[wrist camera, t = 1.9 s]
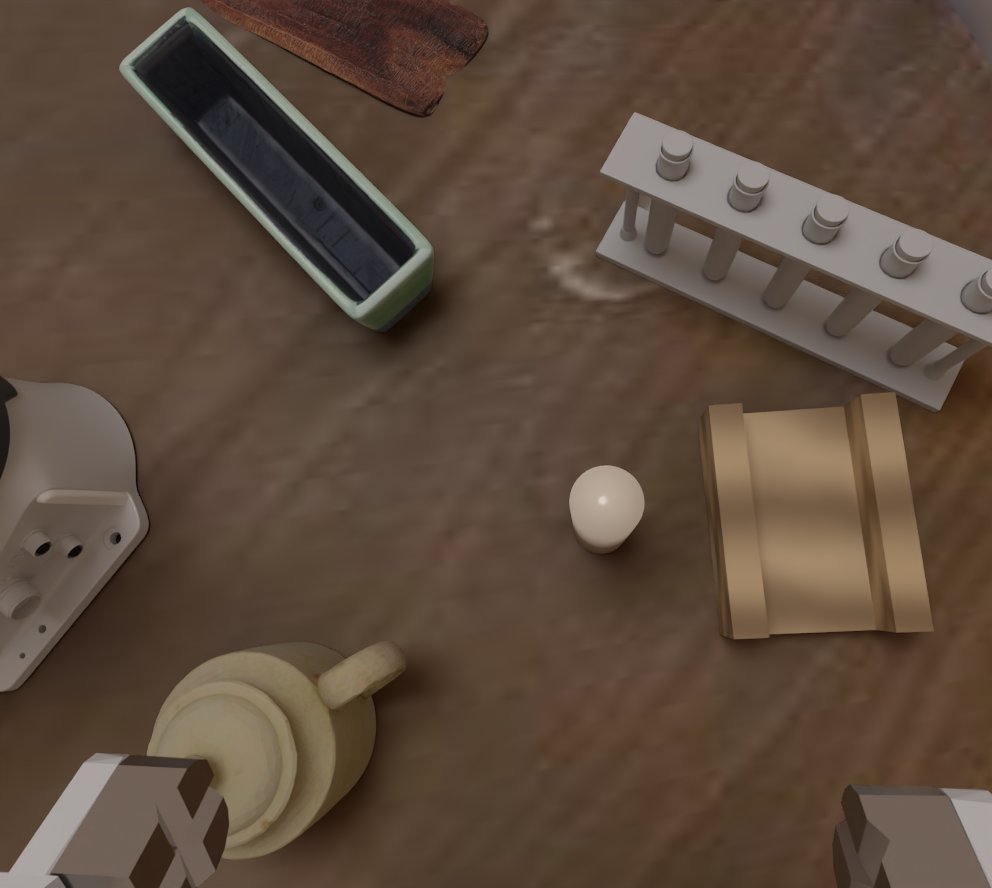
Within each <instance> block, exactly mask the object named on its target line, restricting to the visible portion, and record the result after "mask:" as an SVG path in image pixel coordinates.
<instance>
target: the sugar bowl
mask: <svg viewBox="0 0 992 888" xmlns="http://www.w3.org/2000/svg"><path fill="white" fill-rule="evenodd" d="M405 668H406V660H405V656H404V653H403V651H402V650H401V648H400V647H399V646H398V645H397V644H396V643H395V642H393V641H390V640H384V641H381V642H378V643H375V644H373V645H371V646H369V647H367V648H365V649H363V650H361V651H359V652H357V653H356V654H354V655H352V656H350V657H348V658H347V659H346V658H345V657H343V656H342V655H341V654H339V653H338V652H336V651H334V650H332V649H330V648H327V647H325V646H322V645H319V644H314V643H309V642H291V643H282V644H274V645H267V646H260V647H255V648H249V649H245V650H241V651H236V652H232V653H228V654H224V655H221V656H218V657H215V658H213V659H210V660H208V661H207V662H205V663H203V664H201V665H200V666H198V667H197V668H195V669H194V670H192V671H191V672H190V673H189V674H188V675H187V676H186V677H185V678H184V679H183V680H182V681H181V682H179V683H178V684H177V685H176V687H175V688H174V689H173V691H172V692H171V693H170V695H169V696H168V697H167V699H166V701H165V702H164V704H163V706H162V708H161V710H160V713H159V715H158V717H157V720H156V722H155V725H154V729H153V734H152V738H151V741H150V743H149V746H148V751H147V756H159V757H177V758H194V759H207V761H208V763H209V765H210V767H211V769H212V771H213V773H214V777H213V779H212V781H211V783H210V785H209V786H210V787H211V788H213V789H214V790H215V791H217V792H218V793H219V794H221V795H222V796H223V797H224V799H225V802H226V805H227V807H228V814H229V829H228V834H227V840H226V845H225V849H224V852H223V854H222V857H221V858H227V859H250V858H256V857H260V856H264V855H267V854H269V853H272V852H274V851H277V850H278V849H280V848H282V847H284V846H286V845H287V844H289V843H290V842H292V841H293V840H294V839H296V838H297V837H299V836H300V835H301V834H302V833H303V832H305V831H306V830H307V829H308V828H310V827H311V826H312V825H313V824H315V823H316V822H317V821H318V820H319V819H320V818H321V817H323V816H324V815H325V814H326V813H327V812H328V811H329V810H330V809H331V808H332V807H333V806H334V805H335V804H336V803H337V802H339V801H340V800H341V799H342V798H343V797H344V796H345V795H346V794H347V793H348V792H349V791H350V790H351V789H352V788H353V786H354V785H355V784H356V783H357V781H358V780H359V779H360V777H361V776H362V774H363V772H364V771H365V769H366V767H367V765H368V763H369V760H370V757H371V755H372V752H373V748H374V742H375V735H376V714H375V707H374V703H373V699H372V696H371V695H372V694H373V693H375V692H376V691H378V690H379V689H381V688H382V687H384V686H385V685H386V684H388V683H389V682H391V681H392V680H394V679H395V678H396V677H397V676H399V675H400V674H401V673H402V672H403V671H404V670H405Z"/></svg>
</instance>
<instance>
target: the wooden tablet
mask: <svg viewBox="0 0 992 888" xmlns="http://www.w3.org/2000/svg"><path fill="white" fill-rule="evenodd" d="M201 1H202V2H203V3H204V4H206V5H207V6H208V7H209V8H210V9H211V10H213V11H214V12H216V13H217V14H218V15H220V16H222V17H223V18H225V19H227V20H229V21H230V22H232V23H234V24H236V25H238V26H240V27H242V28H244V29H246V30H248V31H249V32H252V33H254V34H256V35H258V36H260V37H262V38H264V39H267V40H268V41H270V42H272V43H274V44H276V45H278V46H280V47H282V48H284V49H286V50H288V51H290V52H292V53H294V54H296V55H297V56H299V57H301V58H303V59H305V60H307V61H309V62H311V63H312V64H314V65H316V66H318V67H320V68H321V69H323V70H325V71H327V72H328V73H331V74H333V75H335V76H337V77H339V78H341V79H343V80H344V81H346V82H348V83H350V84H352V85H354V86H356V87H358V88H360V89H362V90H363V91H365V92H367V93H369V94H370V95H372V96H373V97H375V98H378V99H380V100H382V101H383V102H385V103H387V104H389V105H391V106H393V107H395V108H398V109H400V110H402V111H405V112H408V113H411V114H413V115H417V116H421V117H425V116H429V115H431V114H432V112H433V111H434V110H435V108H436V107H437V105H438V103H439V101H440V99H441V97H442V95H443V93H444V91H445V84H444V78H445V77H446V76H447V75H451V74H453V73H456V72H458V71H459V70H461V69H462V68H464V67H465V66H466V65H467V64H468V63H469V62H470V61H471V60H472V58H473V57H474V56H475V55H476V54H477V52H478V51H479V49H480V48H481V47H482V45H483V43H484V41H485V40H486V38H487V35H488V34H487V33H488V30H487V25H486V23H485V22H484V21H483V20H482V19H481V18H479V17H478V16H476V15H474V14H473V13H471V12H469V11H467V10H466V9H464V8H462V7H461V6H459V5H457V4H455V3H453V2H451V1H450V0H201Z"/></svg>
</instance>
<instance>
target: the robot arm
mask: <svg viewBox="0 0 992 888" xmlns="http://www.w3.org/2000/svg"><path fill="white" fill-rule="evenodd" d="M148 526H149V522H148V517H147V513H146V511H145V508H144V506H143V503H142V501H141V499H140V497H139V495H138V492H137V488H136V466H135V453H134V447H133V443H132V439H131V436H130V433H129V431H128V428H127V426H126V424H125V422H124V421H123V419H122V417H121V416H120V414H119V413H118V412H117V410H116V409H115V408H114V407H113V406H112V405H111V404H110V403H109V402H108V401H107V400H106V399H104V398H103V397H102V396H100V395H99V394H97V393H95V392H93V391H91V390H89V389H87V388H84V387H81V386H78V385H74V384H68V383H36V382H28V381H21V380H16V379H11V378H6V377H2V376H0V692H6V691H13V690H16V689H17V688H19V687H20V686H21V685H22V684H23V683H24V682H25V681H26V680H27V678H28V677H29V676H30V675H31V674H32V672H33V671H34V670H35V669H36V668H37V666H38V665H39V664H40V663H41V662H42V660H43V659H44V658H45V657H46V655H47V654H48V653H49V652H50V651H51V649H52V648H53V647H54V646H55V645H56V643H57V642H58V641H59V640H60V639H61V637H62V636H63V635H64V634H65V633H66V631H67V630H68V629H69V628H70V626H71V625H72V624H73V623H74V622H75V620H76V619H77V618H78V617H79V616H80V614H81V613H82V612H83V611H84V610H85V608H86V607H87V606H88V605H89V603H90V602H91V601H92V600H93V599H94V597H95V596H96V595H97V594H98V593H99V591H100V590H101V589H102V588H103V587H104V585H105V584H106V583H107V582H108V580H109V579H110V578H111V577H112V576H113V574H114V573H115V572H116V571H117V570H118V568H119V567H120V566H121V565H122V564H123V562H124V561H125V560H126V559H127V557H128V556H129V555H130V554H131V553H132V551H133V550H134V549H135V548H136V547H137V545H138V544H139V543H140V542H141V541H142V539H143V538H144V537H145V535H146V533H147V531H148ZM118 534H120V535H121V541H120V542H119V543H118V544H117V542H116V537H117V536H118ZM213 777H214V773H213V771H212V769H211V767H210V765H209V763H208V761H207V759H194V758H177V757H159V756H142V755H131V754H107V753H96V754H95V755H93V756H92V757H91V758H89V759H88V760H87V761H85V762H84V763H83V764H82V766H81V767H80V768H79V770H78V771H77V773H76V774H75V776H74V777H73V779H72V780H71V782H70V783H69V785H68V786H67V788H66V789H65V790H64V792H63V793H62V795H61V796H60V798H59V799H58V801H57V802H56V804H55V805H54V807H53V808H52V810H51V811H50V812H49V814H48V815H47V817H46V818H45V820H44V821H43V823H42V824H41V826H40V827H39V829H38V830H37V832H36V833H35V834H34V836H33V837H32V839H31V840H30V842H29V843H28V845H27V846H26V848H25V849H24V851H23V852H22V854H21V855H20V856H19V858H18V859H17V861H16V862H15V864H14V865H13V867H12V868H11V870H10V871H9V872H0V888H197V887H198V886H199V885H200V884H201V883H202V882H204V881H205V880H206V879H207V878H208V877H209V876H210V875H211V874H213V873H214V872H215V871H216V869H217V866H218V864H219V861H220V859H221V857H222V854H223V852H224V849H225V845H226V840H227V834H228V829H229V814H228V807H227V805H226V802H225V799H224V797H223V796H222V795H221V794H219V793H218V792H217V791H215V790H214V789H213V788H211V787H210V786H209V785H210V783H211V781H212V779H213ZM841 804H842V808H843V811H844V814H845V817H846V819H845V820H844V821H842V822H841V823H839V824H838V825H836V827H835V833H834V838H833V867H834V873H835V878H836V883H837V888H992V794H991V793H990V792H989V791H987V790H982V789H952V788H936V787H935V786H896V785H855V784H850V785H848V786H847V787H846V788H845V789H844V793H843V797H842V801H841Z"/></svg>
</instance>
